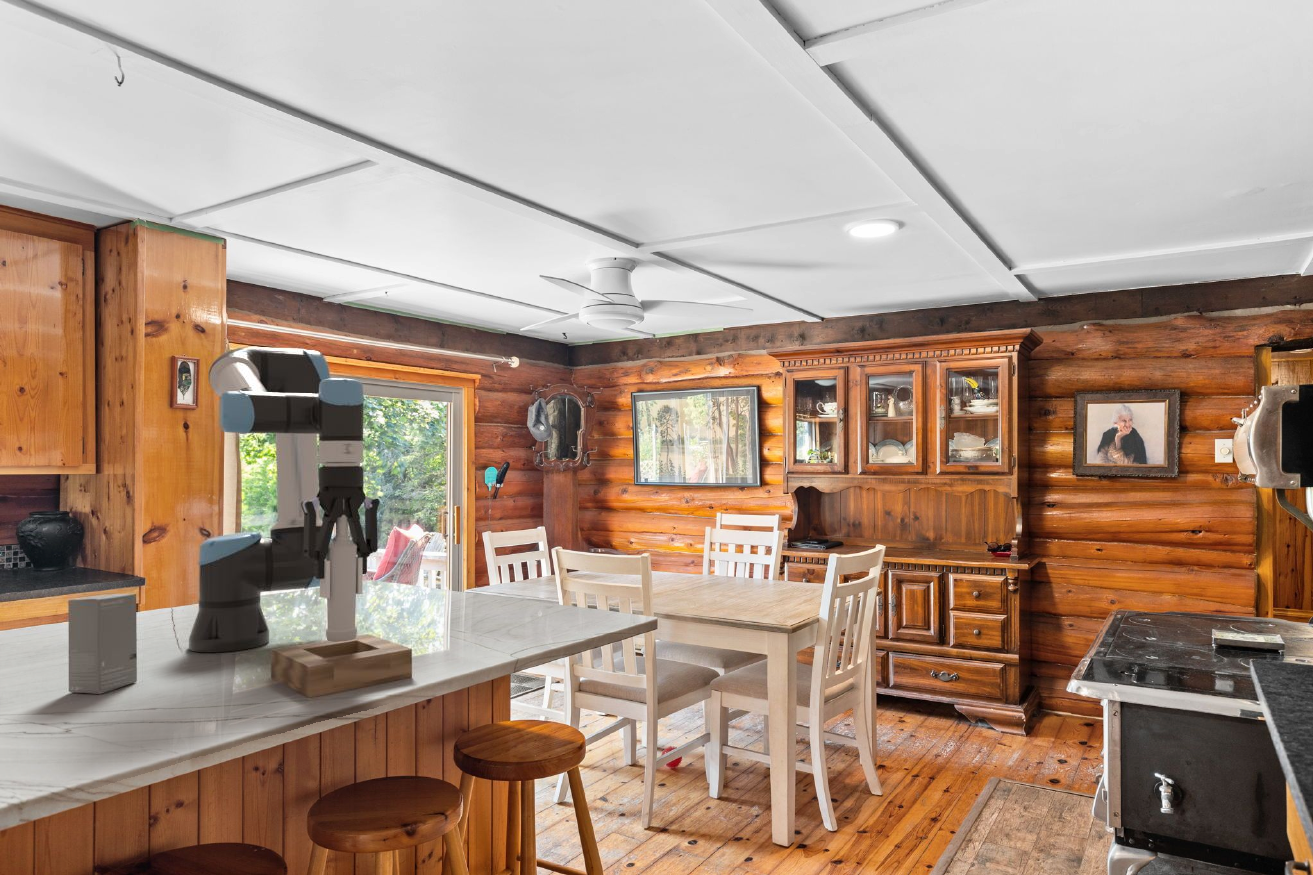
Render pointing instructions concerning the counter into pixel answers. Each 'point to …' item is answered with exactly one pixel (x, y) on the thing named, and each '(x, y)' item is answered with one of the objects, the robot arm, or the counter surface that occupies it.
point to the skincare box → (102, 643)
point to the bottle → (342, 585)
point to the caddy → (340, 665)
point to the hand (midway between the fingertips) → (341, 594)
